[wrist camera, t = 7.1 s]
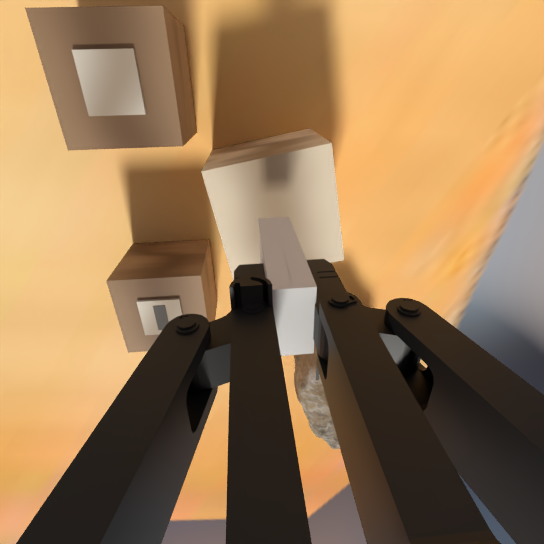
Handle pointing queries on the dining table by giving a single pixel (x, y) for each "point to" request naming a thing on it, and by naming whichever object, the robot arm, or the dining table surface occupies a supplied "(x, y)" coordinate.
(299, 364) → the stone
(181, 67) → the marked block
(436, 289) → the dining table surface
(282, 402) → the robot arm
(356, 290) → the dining table surface
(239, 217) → the plain block
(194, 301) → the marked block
